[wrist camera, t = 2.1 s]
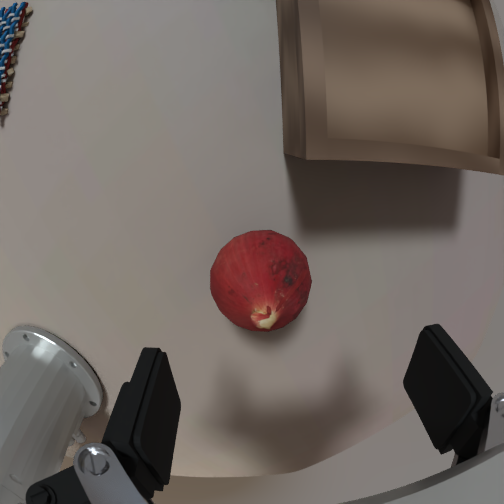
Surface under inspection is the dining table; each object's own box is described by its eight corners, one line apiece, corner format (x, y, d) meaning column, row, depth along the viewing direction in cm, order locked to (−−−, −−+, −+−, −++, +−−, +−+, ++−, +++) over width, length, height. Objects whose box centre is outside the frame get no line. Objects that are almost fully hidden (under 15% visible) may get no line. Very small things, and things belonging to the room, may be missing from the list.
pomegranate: (261, 198, 20) (278, 236, 12) (313, 258, 21) (351, 320, 14) (197, 254, 21) (179, 319, 13) (252, 306, 22) (261, 383, 15)
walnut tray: (452, 162, 19) (507, 175, 13) (283, 153, 18) (306, 159, 13) (439, 6, 14) (485, -13, 8) (273, -30, 13) (287, -77, 8)
